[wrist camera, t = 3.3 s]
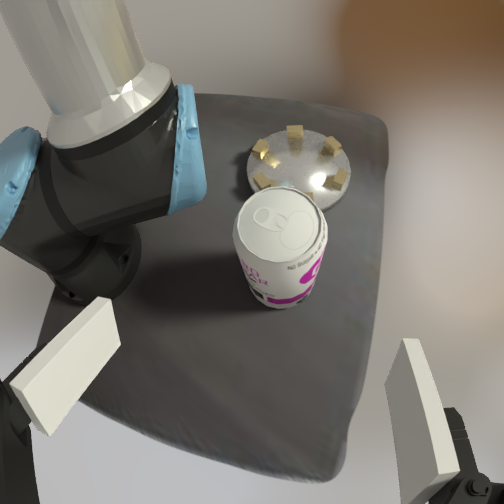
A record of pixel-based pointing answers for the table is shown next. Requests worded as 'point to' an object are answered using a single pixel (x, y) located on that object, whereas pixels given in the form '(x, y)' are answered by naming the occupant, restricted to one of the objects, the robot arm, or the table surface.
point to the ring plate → (301, 165)
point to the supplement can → (280, 245)
